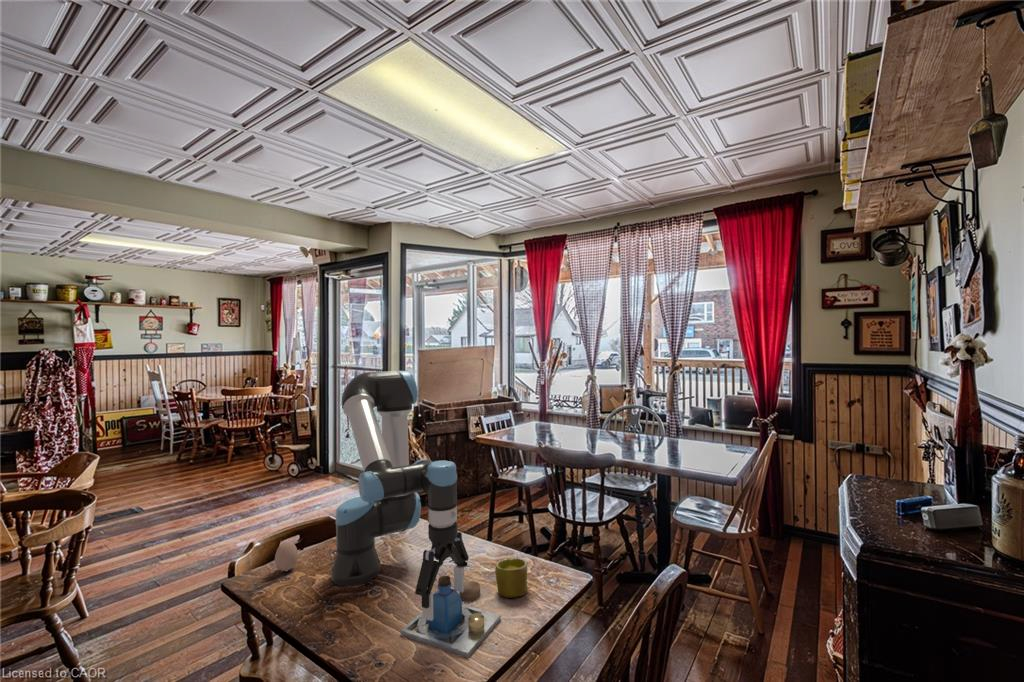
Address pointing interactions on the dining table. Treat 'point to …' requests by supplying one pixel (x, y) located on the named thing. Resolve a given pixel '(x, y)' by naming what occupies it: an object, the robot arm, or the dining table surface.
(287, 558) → the egg
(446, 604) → the perfume bottle
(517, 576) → the mug
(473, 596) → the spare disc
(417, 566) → the dining table surface
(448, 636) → the plate
